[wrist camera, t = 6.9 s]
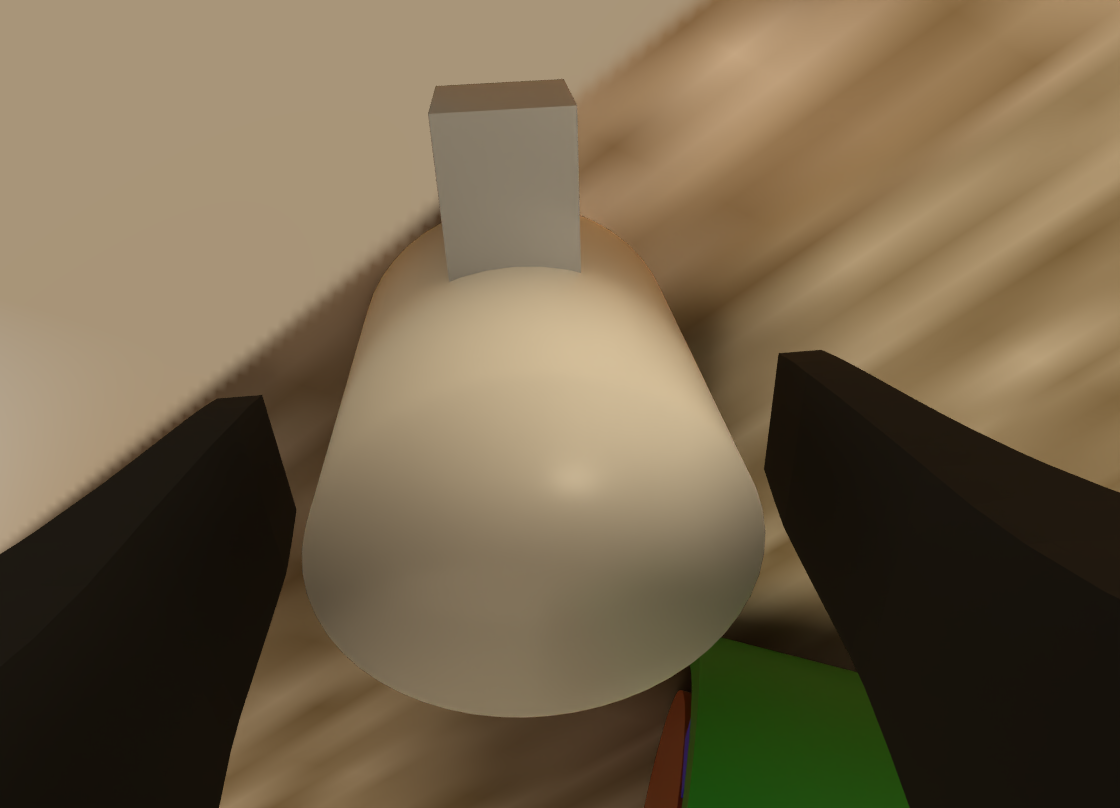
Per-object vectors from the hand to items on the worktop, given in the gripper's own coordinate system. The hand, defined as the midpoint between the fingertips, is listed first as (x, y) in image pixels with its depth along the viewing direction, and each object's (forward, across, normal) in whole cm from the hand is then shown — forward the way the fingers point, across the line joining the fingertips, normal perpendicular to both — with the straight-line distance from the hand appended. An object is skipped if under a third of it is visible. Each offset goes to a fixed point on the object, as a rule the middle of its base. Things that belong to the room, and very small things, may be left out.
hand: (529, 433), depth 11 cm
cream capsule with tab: (+2, 0, 0) cm, 2 cm away
